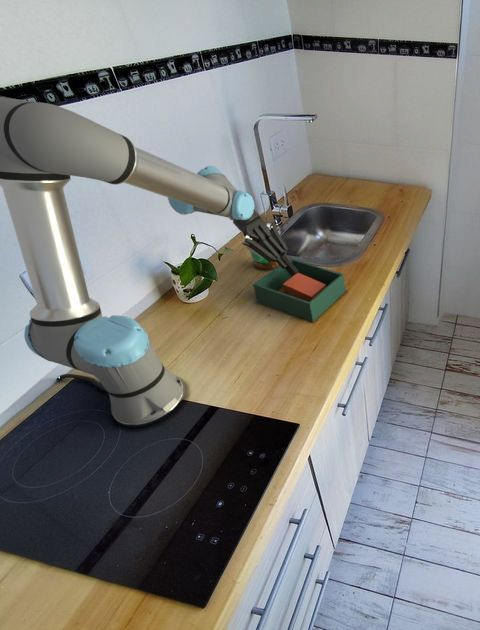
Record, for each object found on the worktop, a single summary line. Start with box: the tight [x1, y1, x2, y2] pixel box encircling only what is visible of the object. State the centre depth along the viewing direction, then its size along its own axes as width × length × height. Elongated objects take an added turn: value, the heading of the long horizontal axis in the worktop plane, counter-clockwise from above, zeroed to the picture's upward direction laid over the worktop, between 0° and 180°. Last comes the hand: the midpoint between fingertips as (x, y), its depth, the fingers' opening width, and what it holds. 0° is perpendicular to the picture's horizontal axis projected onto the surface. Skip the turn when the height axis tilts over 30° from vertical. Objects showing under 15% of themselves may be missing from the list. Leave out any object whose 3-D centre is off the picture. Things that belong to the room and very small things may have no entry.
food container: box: [245, 240, 280, 271], centre depth 141 cm, size 12×6×10 cm, turn 73°
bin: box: [252, 257, 347, 323], centre depth 128 cm, size 22×18×7 cm
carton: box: [282, 273, 326, 302], centre depth 128 cm, size 5×8×11 cm
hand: (295, 273), depth 126 cm, fingers closed
